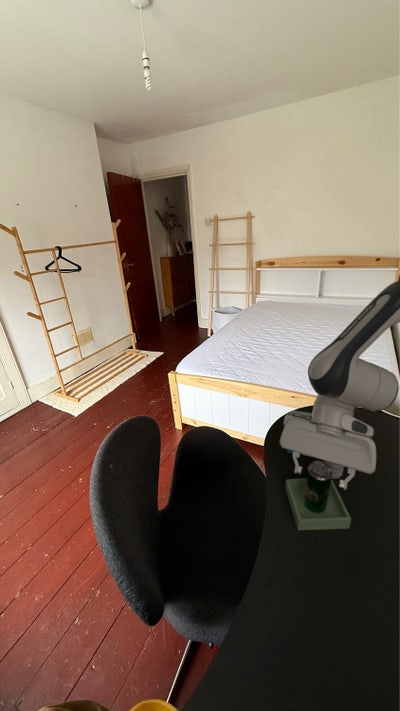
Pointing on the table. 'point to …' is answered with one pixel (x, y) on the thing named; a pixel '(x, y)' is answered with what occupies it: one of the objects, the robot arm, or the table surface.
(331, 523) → the tray
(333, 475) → the pill bottle
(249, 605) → the table surface
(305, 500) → the soda can
